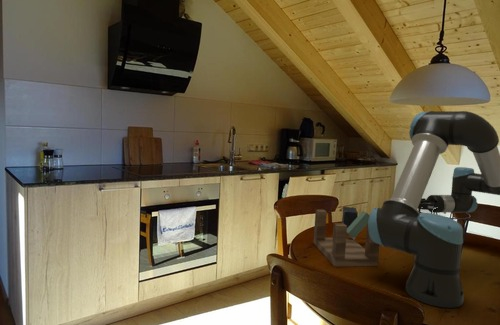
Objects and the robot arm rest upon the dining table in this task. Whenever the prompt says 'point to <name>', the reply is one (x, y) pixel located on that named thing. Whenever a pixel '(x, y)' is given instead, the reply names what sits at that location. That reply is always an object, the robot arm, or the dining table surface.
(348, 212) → the small box
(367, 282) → the dining table surface
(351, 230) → the green rectangular block
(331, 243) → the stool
